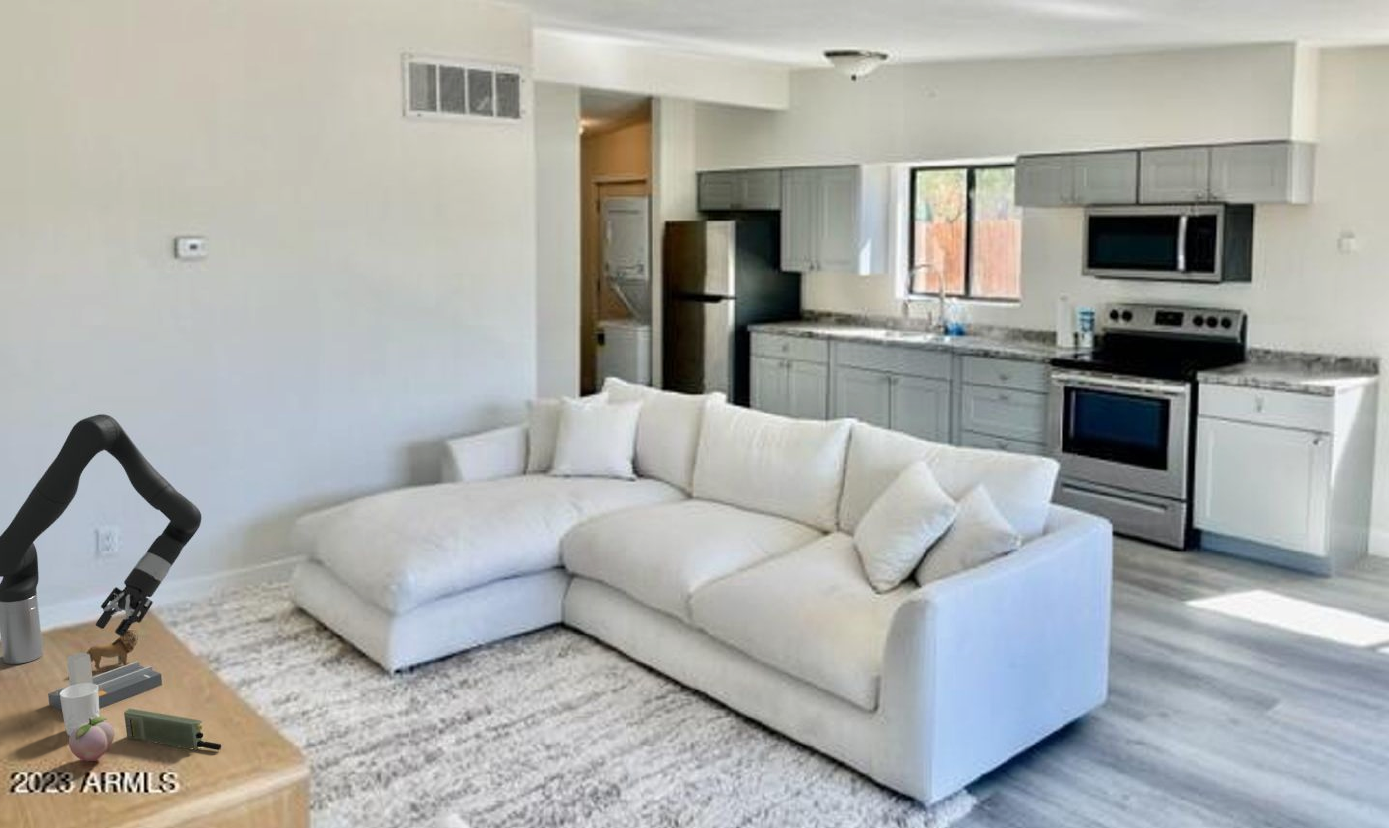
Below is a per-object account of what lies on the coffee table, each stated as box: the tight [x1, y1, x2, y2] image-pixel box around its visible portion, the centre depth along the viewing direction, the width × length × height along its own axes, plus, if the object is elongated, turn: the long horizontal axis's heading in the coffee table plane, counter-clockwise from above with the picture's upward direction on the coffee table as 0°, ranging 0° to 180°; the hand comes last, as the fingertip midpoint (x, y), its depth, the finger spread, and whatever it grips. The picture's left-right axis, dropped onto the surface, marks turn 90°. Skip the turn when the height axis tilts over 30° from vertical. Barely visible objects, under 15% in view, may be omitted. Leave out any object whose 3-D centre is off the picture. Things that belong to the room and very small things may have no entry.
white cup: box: [60, 683, 100, 737], centre depth 263 cm, size 8×8×10 cm
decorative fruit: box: [68, 716, 115, 762], centre depth 249 cm, size 9×8×10 cm
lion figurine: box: [86, 628, 139, 673], centre depth 299 cm, size 15×5×9 cm, turn 137°
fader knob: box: [66, 652, 93, 686], centre depth 276 cm, size 4×4×9 cm
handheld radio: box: [123, 708, 222, 751], centre depth 257 cm, size 7×3×25 cm
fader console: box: [47, 660, 163, 711], centre depth 282 cm, size 12×22×4 cm, turn 148°
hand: (108, 631), depth 281 cm, fingers open, 8 cm apart
